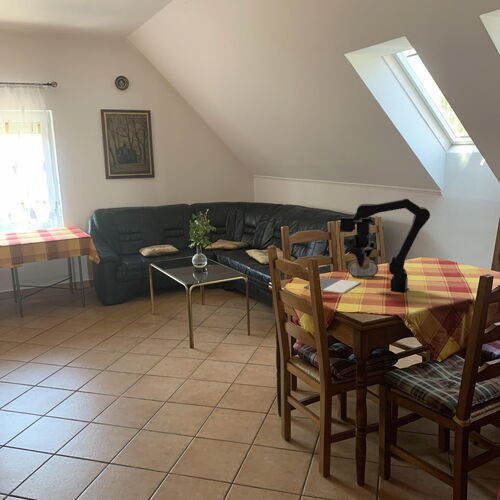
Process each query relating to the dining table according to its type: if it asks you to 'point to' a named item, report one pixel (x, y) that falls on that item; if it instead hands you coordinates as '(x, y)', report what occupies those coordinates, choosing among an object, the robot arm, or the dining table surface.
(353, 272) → the tin
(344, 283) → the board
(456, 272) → the dining table surface
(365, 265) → the brown cylinder
